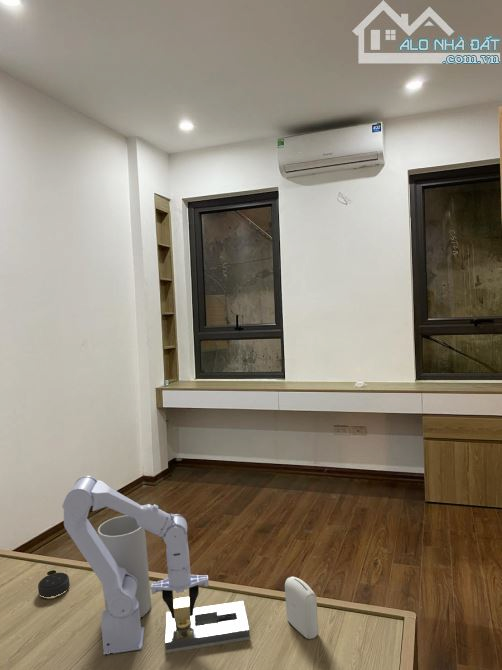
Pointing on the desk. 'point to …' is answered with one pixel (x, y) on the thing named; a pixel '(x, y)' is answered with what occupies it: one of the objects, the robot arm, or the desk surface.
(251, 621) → the desk surface
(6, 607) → the desk surface
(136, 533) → the cylinder vase
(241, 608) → the keyhole plate
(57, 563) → the desk surface
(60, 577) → the smart speaker
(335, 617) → the desk surface
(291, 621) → the photo printer
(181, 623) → the brass peg
